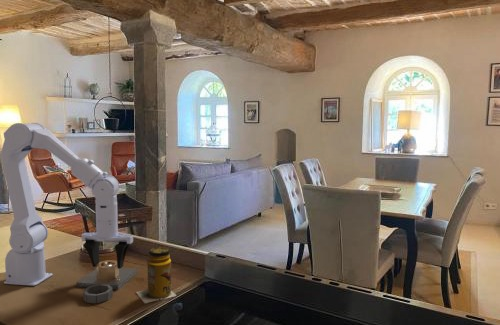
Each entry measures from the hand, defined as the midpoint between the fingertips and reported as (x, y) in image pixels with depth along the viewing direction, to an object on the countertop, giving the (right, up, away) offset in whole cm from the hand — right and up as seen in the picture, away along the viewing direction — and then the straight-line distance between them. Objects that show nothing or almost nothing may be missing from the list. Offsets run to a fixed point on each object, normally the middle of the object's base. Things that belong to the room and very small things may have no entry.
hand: (108, 266), depth 112 cm
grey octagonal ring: (+1, -5, -11) cm, 12 cm away
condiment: (+16, -5, -9) cm, 19 cm away
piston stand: (0, -4, 0) cm, 4 cm away
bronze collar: (0, -3, 0) cm, 3 cm away
